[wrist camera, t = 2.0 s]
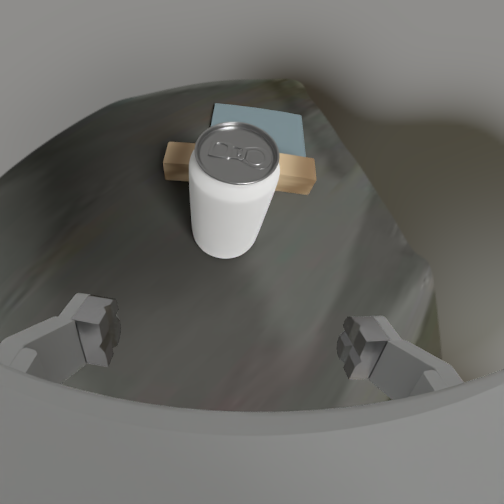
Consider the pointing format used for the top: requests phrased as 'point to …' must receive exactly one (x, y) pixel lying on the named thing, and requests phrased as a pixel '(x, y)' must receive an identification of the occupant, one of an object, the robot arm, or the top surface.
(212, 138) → the can
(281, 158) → the oak rail
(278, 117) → the felt mat
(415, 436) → the robot arm
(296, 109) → the top surface
